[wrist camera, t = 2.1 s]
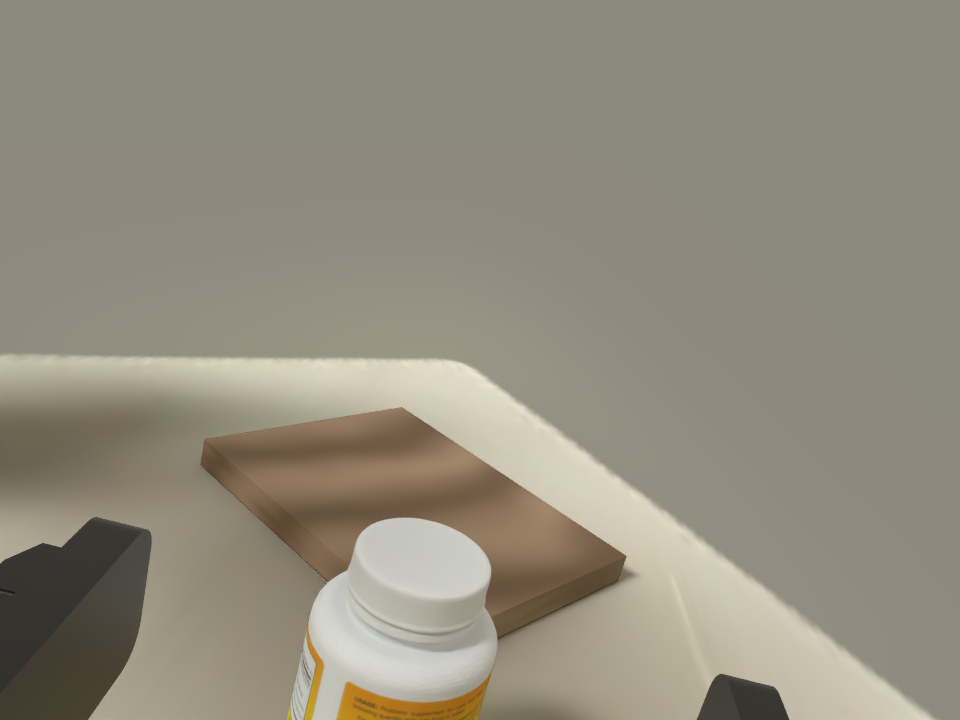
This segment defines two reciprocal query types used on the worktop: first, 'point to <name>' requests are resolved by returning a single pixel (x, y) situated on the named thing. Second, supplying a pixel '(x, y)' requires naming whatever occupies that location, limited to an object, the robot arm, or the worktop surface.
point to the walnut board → (410, 505)
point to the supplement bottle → (400, 630)
